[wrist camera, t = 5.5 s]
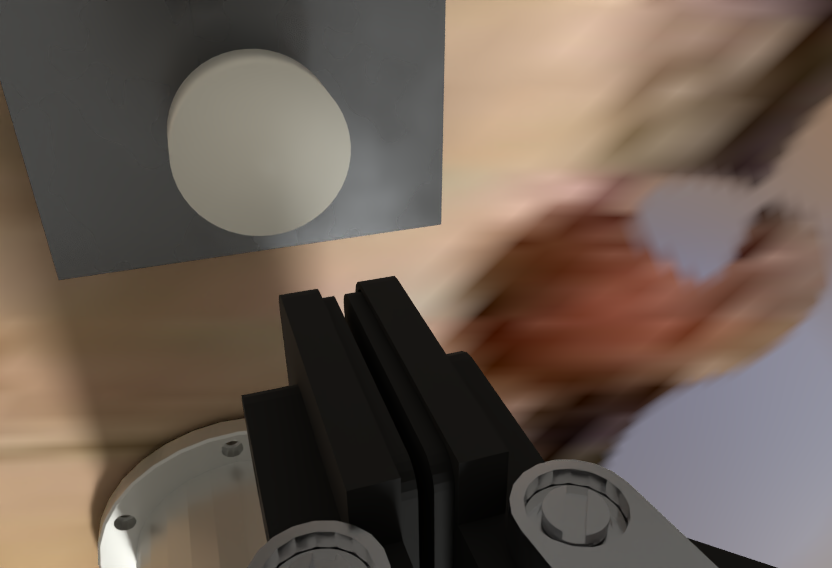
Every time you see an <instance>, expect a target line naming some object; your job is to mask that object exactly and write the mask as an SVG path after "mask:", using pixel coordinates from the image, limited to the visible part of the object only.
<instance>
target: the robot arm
mask: <svg viewBox="0 0 832 568" xmlns="http://www.w3.org/2000/svg"><path fill="white" fill-rule="evenodd" d="M279 306H280V315H281V323H282V331H283V339H284V347H285V356H286V364H287V372H288V380H289V386H287V387H282V388H277V389H272V390H267V391H262V392H257V393H252V394H247V395H242V403H243V410H244V416H245V418H243V419H237V420H231V421H225V422H220V423H217V424H214V425H210V426H207V427H204V428H201V429H198V430H195V431H192V432H190V433H188V434H186V435H183V436H181V437H179V438H177V439H175V440H173V441H171V442H169V443H167V444H165V445H164V446H162V447H161V448H159V449H158V450H156V451H155V452H153V453H152V454H150V455H149V456H148V457H146V458H145V459H143V460H142V461H141V462H140V463H139V464H138V465H137V466H136V467H135V468H134V469H133V470H132V471H130V472H129V473H128V474H127V475H126V476H125V477H124V478H123V479H122V481H121V482H120V484H119V485H118V487H117V488H116V489H115V491H114V492H113V494H112V495H111V497H110V498H109V500H108V502H107V505H106V507H105V510H104V512H103V515H102V517H101V520H100V529H99V537H98V565H99V568H776V567H773V566H770V565H767V564H764V563H761V562H758V561H755V560H752V559H749V558H746V557H743V556H740V555H737V554H734V553H731V552H728V551H725V550H722V549H719V548H716V547H713V546H710V545H707V544H704V543H701V542H698V541H695V540H692V539H689V538H686V537H685V536H684V535H683V534H682V533H681V532H680V531H679V530H678V529H676V527H675V526H674V525H672V524H671V523H670V522H669V521H668V520H667V519H666V518H665V517H664V516H663V515H662V514H661V513H660V512H658V511H657V509H655V508H654V507H653V506H652V505H651V504H650V503H649V502H648V501H647V500H646V499H645V498H644V497H643V496H642V495H641V494H640V493H638V492H637V491H636V490H635V489H634V488H633V487H632V486H631V485H630V484H629V483H628V482H626V481H625V480H624V479H622V478H621V477H619V476H618V475H617V474H615V473H614V472H612V471H610V470H608V469H606V468H603V467H601V466H599V465H596V464H593V463H589V462H584V461H579V460H553V461H549V462H544V460H543V459H542V457H541V456H540V454H539V453H538V452H537V450H536V449H535V447H534V446H533V444H532V443H531V442H530V440H529V439H528V437H527V436H526V434H525V433H524V431H523V430H522V429H521V427H520V426H519V424H518V423H517V421H516V420H515V419H514V417H513V416H512V414H511V413H510V411H509V410H508V409H507V407H506V406H505V404H504V403H503V401H502V400H501V399H500V397H499V396H498V394H497V393H496V391H495V390H494V389H493V387H492V386H491V384H490V383H489V381H488V380H487V379H486V377H485V376H484V374H483V373H482V371H481V370H480V369H479V367H478V366H477V364H476V363H475V361H474V360H473V359H472V357H471V356H470V355H469V354H468V353H467V352H464V351H460V352H455V353H450V354H446V353H445V352H444V350H443V349H442V347H441V346H440V344H439V342H438V341H437V339H436V338H435V336H434V335H433V333H432V332H431V330H430V329H429V327H428V326H427V324H426V322H425V321H424V319H423V318H422V316H421V315H420V313H419V312H418V310H417V309H416V307H415V306H414V304H413V302H412V301H411V299H410V298H409V296H408V295H407V293H406V292H405V290H404V289H403V287H402V285H401V284H400V282H399V281H398V279H397V278H396V277H395V276H391V277H385V278H379V279H373V280H367V281H361V282H357V284H356V292H355V293H349V294H345V295H344V313H345V318H344V316H343V313H342V311H341V309H340V307H339V305H338V303H337V301H336V299H335V297H334V296H332V297H326V298H322V296H321V294H320V292H319V290H318V289H314V290H308V291H302V292H296V293H290V294H284V295H279Z"/></svg>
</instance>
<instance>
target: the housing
mask: <svg viewBox="0 0 832 568" xmlns="http://www.w3.org/2000/svg"><path fill="white" fill-rule="evenodd" d="M445 1H446V0H0V81H1V85H2V88H3V91H4V95H5V98H6V102H7V105H8V109H9V112H10V115H11V119H12V122H13V126H14V129H15V132H16V136H17V139H18V143H19V146H20V149H21V153H22V156H23V160H24V163H25V166H26V170H27V173H28V177H29V180H30V183H31V187H32V190H33V194H34V197H35V201H36V204H37V207H38V211H39V214H40V218H41V221H42V224H43V228H44V231H45V235H46V238H47V241H48V245H49V248H50V252H51V255H52V258H53V262H54V265H55V269H56V272H57V275H58V279H59V280H63V279H70V278H76V277H83V276H90V275H97V274H104V273H111V272H118V271H124V270H131V269H138V268H145V267H152V266H159V265H166V264H172V263H179V262H186V261H193V260H200V259H207V258H214V257H220V256H227V255H234V254H241V253H248V252H255V251H262V250H268V249H275V248H282V247H289V246H296V245H303V244H310V243H316V242H323V241H330V240H337V239H344V238H351V237H358V236H364V235H371V234H378V233H385V232H392V231H399V230H406V229H412V228H419V227H426V226H433V225H440V224H441V201H442V151H443V101H444V51H445ZM240 49H263V50H270V51H274V52H277V53H281V54H283V55H286V56H288V57H290V58H292V59H294V60H296V61H297V62H299V63H301V64H302V65H303V66H305V67H306V68H307V69H309V70H310V71H311V72H312V73H313V74H314V75H315V76H316V77H317V78H318V80H319V81H320V82H321V84H322V85H323V86H324V87H325V89H326V90H327V91H328V93H329V94H330V95H331V97H332V98H333V99H334V101H335V102H336V103H337V105H338V106H339V108H340V110H341V112H342V113H343V116H344V118H345V121H346V123H347V127H348V130H349V134H350V143H351V157H350V164H349V169H348V172H347V176H346V179H345V181H344V183H343V185H342V188H341V189H340V191H339V193H338V194H337V196H336V197H335V199H334V200H333V201H332V202H331V204H330V205H329V206H328V207H327V208H326V209H325V210H324V211H323V212H322V213H321V214H319V215H318V216H317V217H316V218H314V219H313V220H311V221H310V222H308V223H306V224H305V225H303V226H301V227H298V228H296V229H294V230H291V231H288V232H285V233H281V234H276V235H268V236H249V235H242V234H237V233H234V232H230V231H227V230H225V229H222V228H220V227H217V226H216V225H214V224H212V223H210V222H209V221H207V220H206V219H204V218H203V217H202V216H200V215H199V214H198V213H197V212H196V211H195V210H194V209H193V208H192V207H191V206H190V205H189V204H188V203H187V201H186V200H185V199H184V197H183V196H182V194H181V192H180V191H179V189H178V187H177V185H176V182H175V180H174V178H173V174H172V170H171V167H170V159H169V149H168V138H167V120H168V114H169V109H170V106H171V103H172V100H173V98H174V96H175V94H176V92H177V90H178V88H179V87H180V86H181V84H182V83H183V81H184V80H185V79H186V78H187V77H188V76H189V74H190V73H191V72H192V71H194V70H195V69H196V68H197V67H198V66H200V65H201V64H202V63H204V62H206V61H207V60H209V59H211V58H213V57H215V56H218V55H220V54H222V53H226V52H229V51H233V50H240Z"/></svg>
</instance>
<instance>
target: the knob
mask: <svg viewBox="0 0 832 568" xmlns="http://www.w3.org/2000/svg"><path fill="white" fill-rule="evenodd" d="M167 138H168V149H169V159H170V167H171V170H172V174H173V178H174V180H175V182H176V185H177V187H178V189H179V191H180V192H181V194H182V196H183V197H184V199H185V200H186V201H187V203H188V204H189V205H190V206H191V207H192V208H193V209H194V210H195V211H196V212H197V213H198V214H199V215H200V216H202V217H203V218H204V219H206V220H207V221H209V222H210V223H212V224H214V225H216V226H217V227H220V228H222V229H225V230H227V231H230V232H234V233H237V234H242V235H249V236H268V235H276V234H281V233H285V232H288V231H291V230H294V229H296V228H298V227H301V226H303V225H305V224H306V223H308V222H310V221H311V220H313V219H314V218H316V217H317V216H318V215H319V214H321V213H322V212H323V211H324V210H325V209H326V208H327V207H328V206H329V205H330V204H331V202H332V201H333V200H334V199H335V197H336V196H337V194H338V193H339V191H340V189H341V188H342V185H343V183H344V181H345V179H346V176H347V172H348V169H349V164H350V157H351V143H350V134H349V130H348V127H347V123H346V121H345V118H344V116H343V113H342V112H341V110H340V108H339V106H338V105H337V103H336V102H335V101H334V99H333V98H332V97H331V95H330V94H329V93H328V91H327V90H326V89H325V87H324V86H323V85H322V84H321V82H320V81H319V80H318V78H317V77H316V76H315V75H314V74H313V73H312V72H311V71H310V70H309V69H307V68H306V67H305V66H303V65H302V64H301V63H299V62H297V61H296V60H294V59H292V58H290V57H288V56H286V55H283V54H281V53H277V52H274V51H270V50H263V49H240V50H233V51H229V52H226V53H222V54H220V55H218V56H215V57H213V58H211V59H209V60H207V61H206V62H204V63H202V64H201V65H200V66H198V67H197V68H196V69H195V70H194V71H192V72H191V73H190V74H189V76H188V77H187V78H186V79H185V80H184V81H183V83H182V84H181V86H180V87H179V88H178V90H177V92H176V94H175V96H174V98H173V100H172V103H171V106H170V109H169V114H168V120H167Z"/></svg>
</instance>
